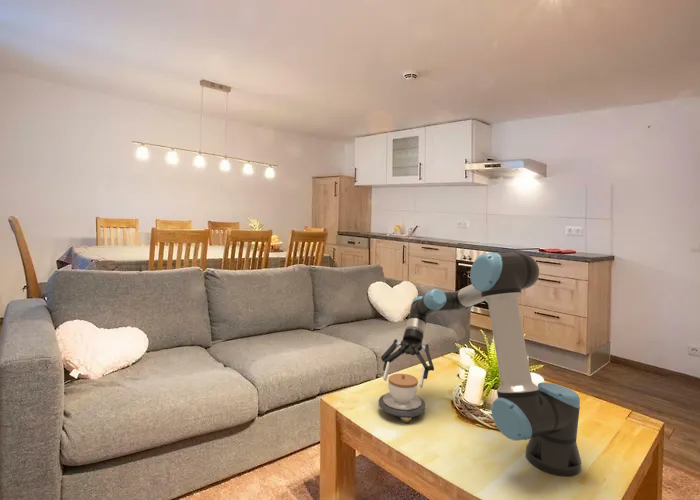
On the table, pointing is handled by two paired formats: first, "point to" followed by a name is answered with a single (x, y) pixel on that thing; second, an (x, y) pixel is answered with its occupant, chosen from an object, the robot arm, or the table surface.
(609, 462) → the table surface
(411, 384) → the lidded jar
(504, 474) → the table surface
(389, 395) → the base
